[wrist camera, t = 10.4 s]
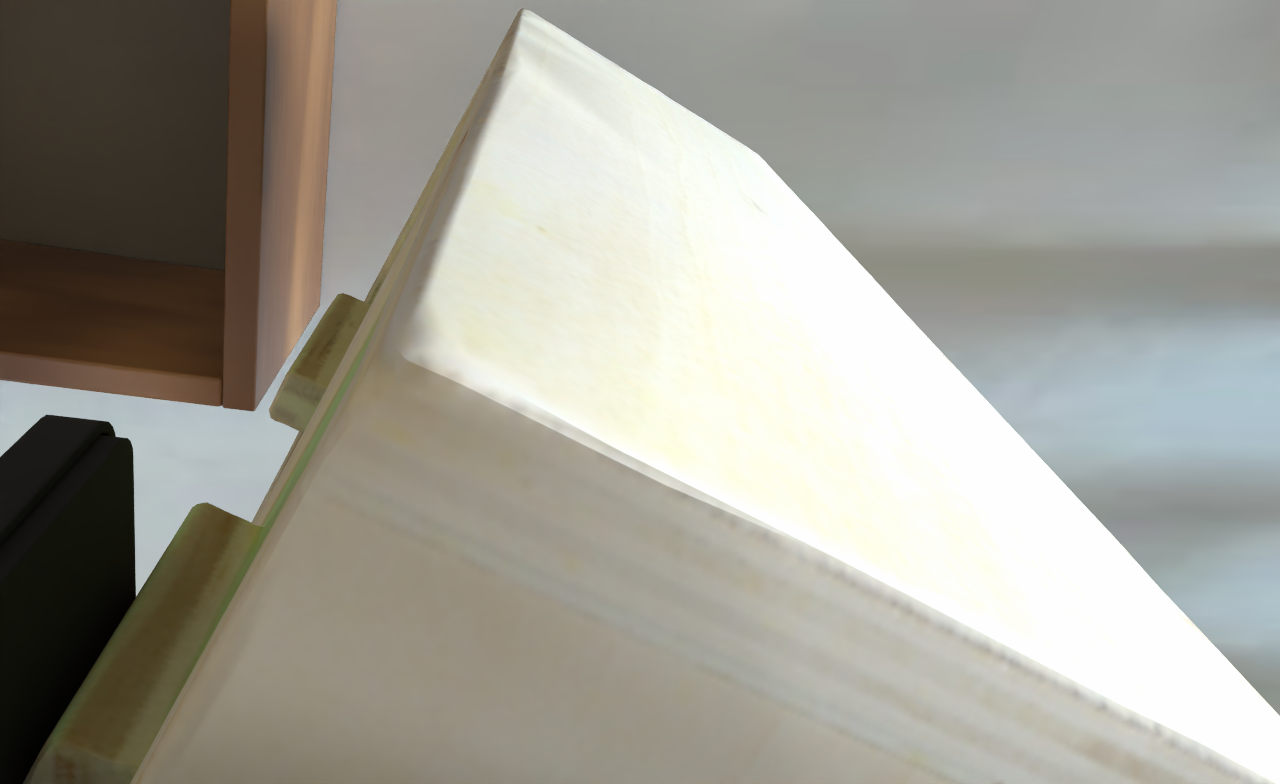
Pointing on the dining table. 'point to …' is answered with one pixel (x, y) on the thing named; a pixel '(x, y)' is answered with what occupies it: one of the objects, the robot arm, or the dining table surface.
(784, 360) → the toy refrigerator
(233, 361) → the open wooden box
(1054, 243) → the dining table surface
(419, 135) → the dining table surface
